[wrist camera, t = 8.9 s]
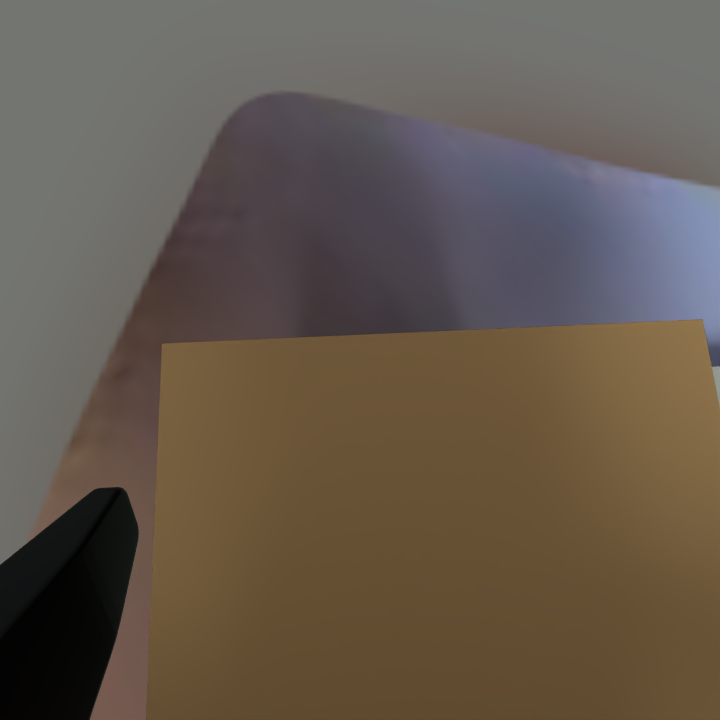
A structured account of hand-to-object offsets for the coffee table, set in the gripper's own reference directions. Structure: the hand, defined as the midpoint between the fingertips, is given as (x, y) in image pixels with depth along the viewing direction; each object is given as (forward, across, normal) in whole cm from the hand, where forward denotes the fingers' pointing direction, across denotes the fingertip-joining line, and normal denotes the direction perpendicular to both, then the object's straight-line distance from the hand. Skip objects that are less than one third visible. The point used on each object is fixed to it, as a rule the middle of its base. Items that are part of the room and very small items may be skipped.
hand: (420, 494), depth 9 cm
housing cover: (-2, 0, 0) cm, 2 cm away
